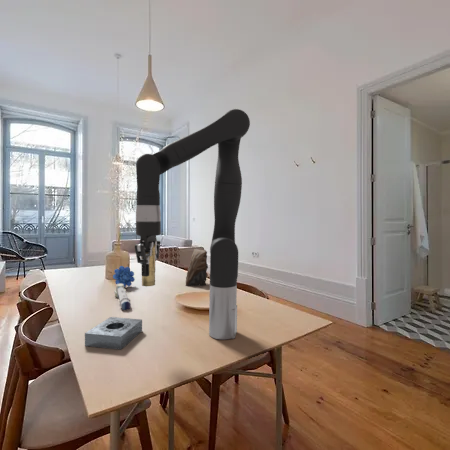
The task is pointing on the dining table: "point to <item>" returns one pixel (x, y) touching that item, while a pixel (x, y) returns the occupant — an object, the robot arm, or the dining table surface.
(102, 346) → the plate
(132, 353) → the dining table surface
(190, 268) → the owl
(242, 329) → the dining table surface
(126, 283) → the blue flower
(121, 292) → the white electric toothbrush
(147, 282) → the brass plug
